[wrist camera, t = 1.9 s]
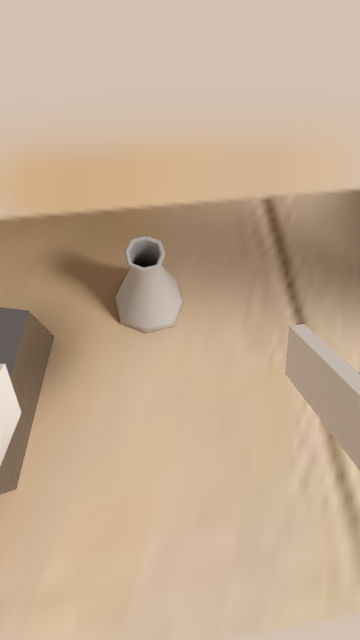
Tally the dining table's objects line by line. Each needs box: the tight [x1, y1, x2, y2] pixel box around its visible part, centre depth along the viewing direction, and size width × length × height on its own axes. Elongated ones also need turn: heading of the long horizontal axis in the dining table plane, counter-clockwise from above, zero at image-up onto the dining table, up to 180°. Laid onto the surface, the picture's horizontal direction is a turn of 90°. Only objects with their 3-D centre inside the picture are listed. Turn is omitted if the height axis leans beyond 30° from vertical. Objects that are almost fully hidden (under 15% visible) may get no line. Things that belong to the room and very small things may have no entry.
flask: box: [115, 236, 183, 333], centre depth 32 cm, size 7×7×10 cm
